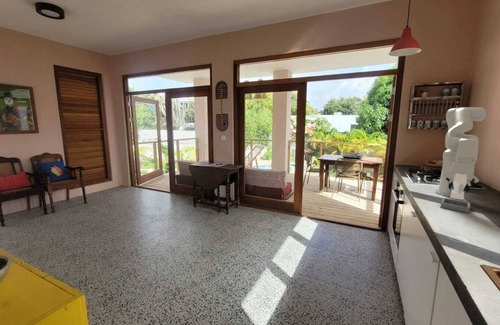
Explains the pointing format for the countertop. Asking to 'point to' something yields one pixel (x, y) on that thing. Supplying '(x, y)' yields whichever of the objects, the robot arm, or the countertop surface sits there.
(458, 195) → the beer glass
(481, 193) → the countertop surface
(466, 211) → the tray
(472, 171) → the robot arm
